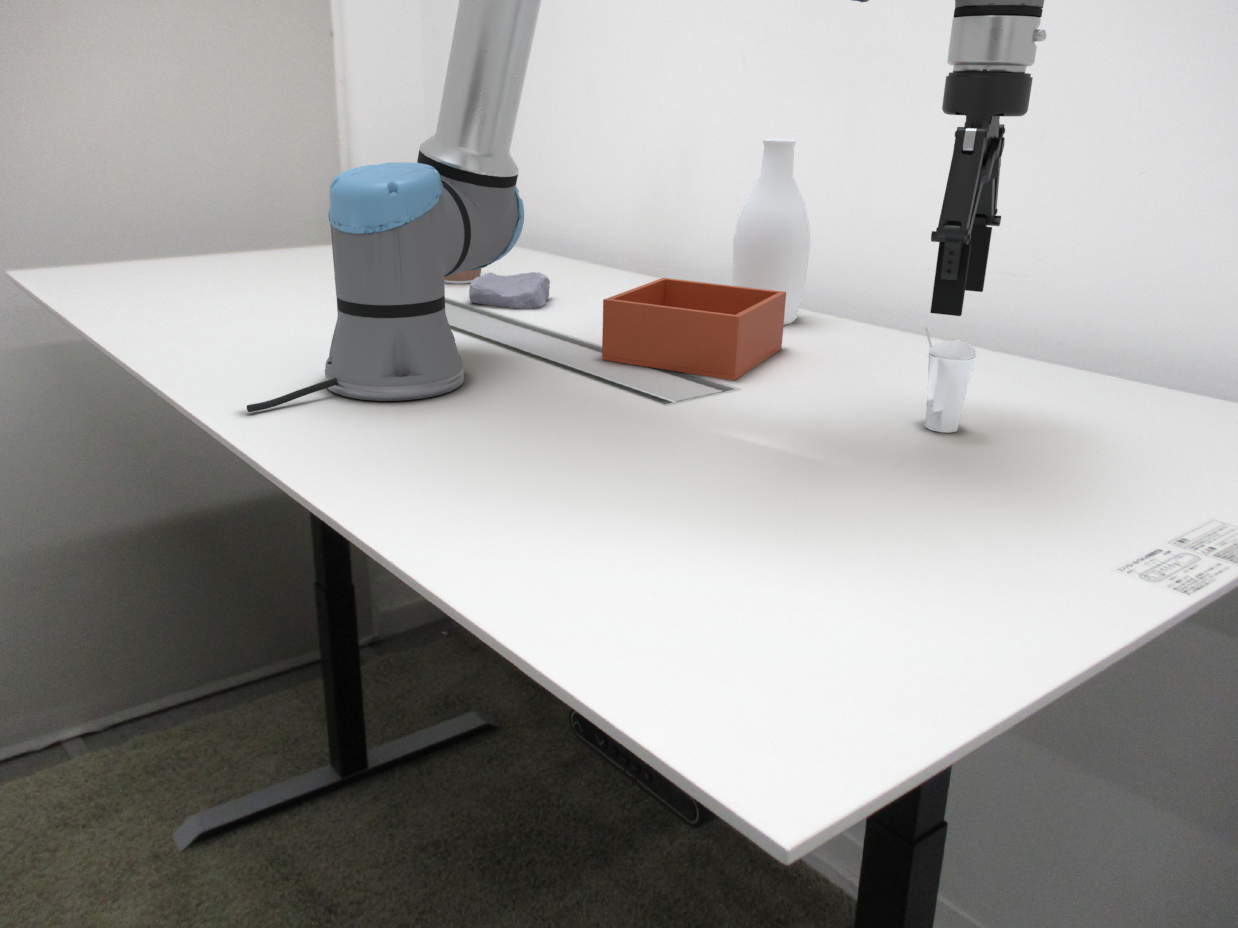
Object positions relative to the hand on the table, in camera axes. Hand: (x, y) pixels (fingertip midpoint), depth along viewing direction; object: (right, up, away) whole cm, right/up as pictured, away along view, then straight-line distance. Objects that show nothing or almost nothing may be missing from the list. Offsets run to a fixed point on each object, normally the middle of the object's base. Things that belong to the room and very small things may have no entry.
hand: (958, 301), depth 99 cm
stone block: (-50, +9, +57) cm, 77 cm away
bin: (-24, -2, +30) cm, 38 cm away
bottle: (-12, +5, +51) cm, 52 cm away
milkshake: (-1, -12, +5) cm, 13 cm away
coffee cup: (-61, +15, +73) cm, 96 cm away
